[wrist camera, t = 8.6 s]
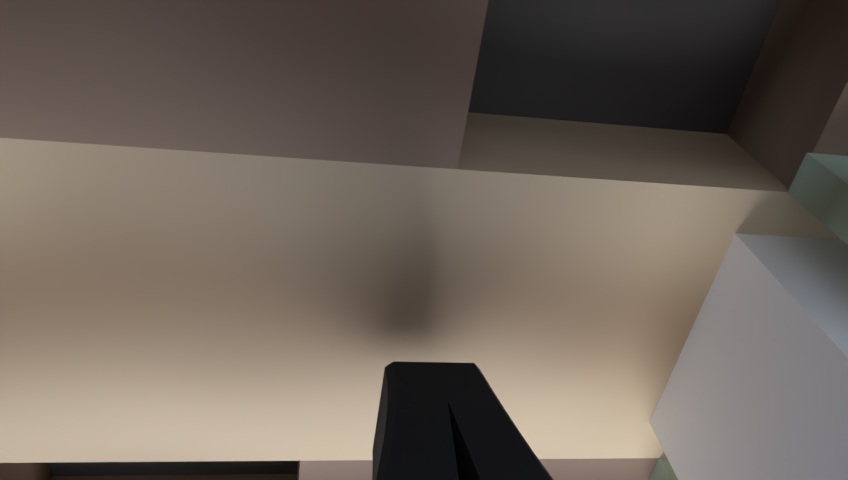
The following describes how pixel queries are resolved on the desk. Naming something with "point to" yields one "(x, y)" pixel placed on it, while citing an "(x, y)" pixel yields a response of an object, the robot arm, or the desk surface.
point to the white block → (764, 367)
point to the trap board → (384, 216)
